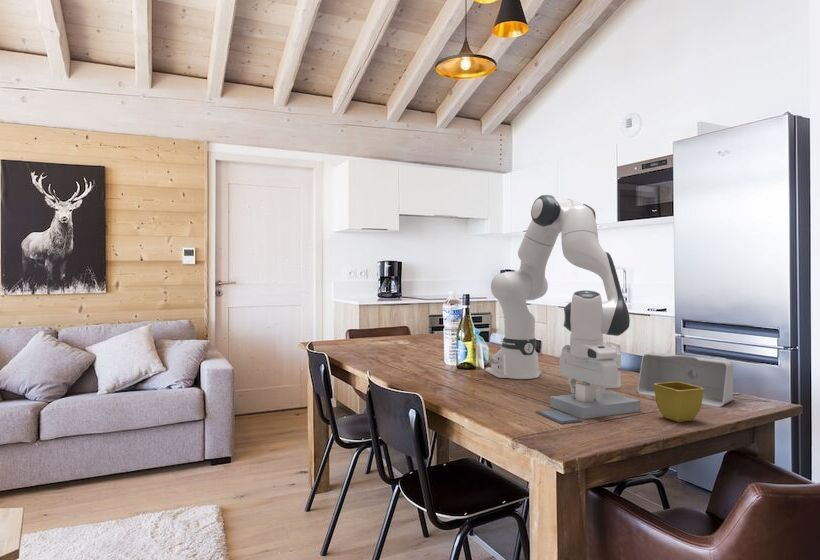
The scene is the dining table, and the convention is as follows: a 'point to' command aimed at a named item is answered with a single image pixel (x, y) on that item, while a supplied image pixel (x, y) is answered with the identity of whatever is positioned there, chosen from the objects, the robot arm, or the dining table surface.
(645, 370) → the tank
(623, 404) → the outlet board
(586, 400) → the block
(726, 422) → the dining table surface
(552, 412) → the phone slab
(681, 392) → the flower pot
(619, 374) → the ink cartridge box
